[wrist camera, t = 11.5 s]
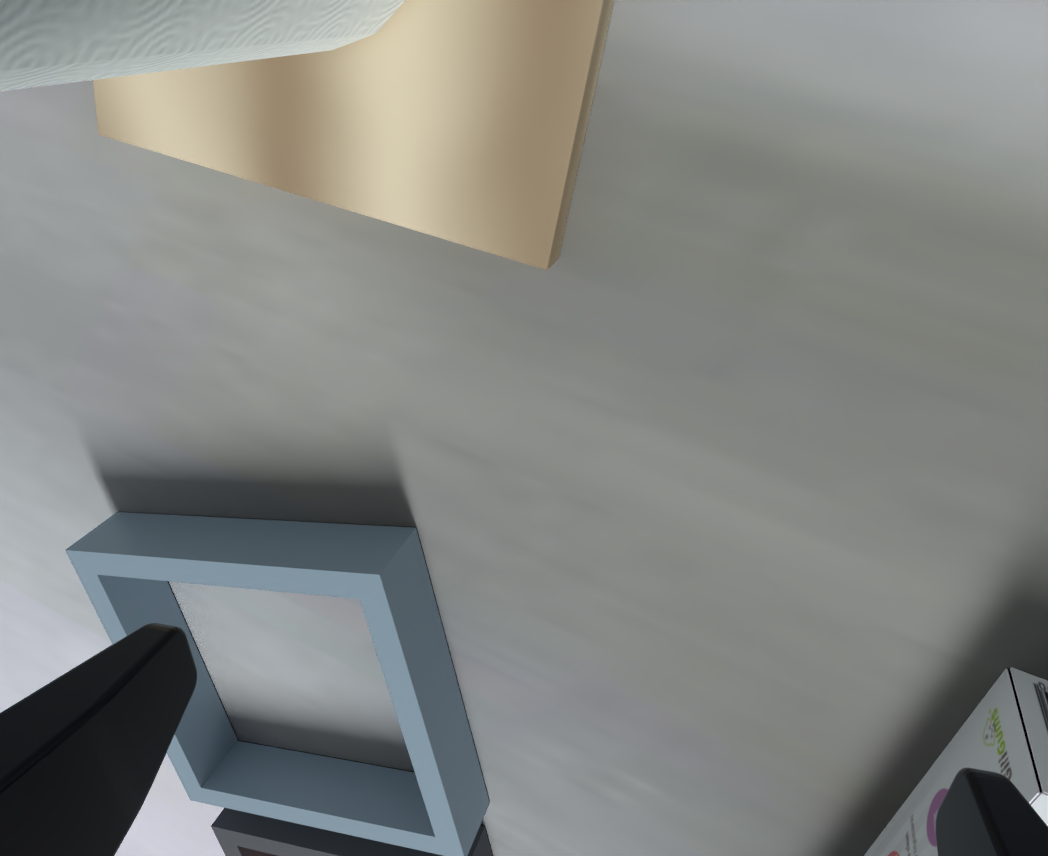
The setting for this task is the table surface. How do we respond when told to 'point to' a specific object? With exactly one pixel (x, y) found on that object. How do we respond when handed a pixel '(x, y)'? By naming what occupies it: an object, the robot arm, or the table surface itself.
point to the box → (979, 762)
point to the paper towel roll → (168, 34)
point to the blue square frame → (399, 638)
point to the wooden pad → (399, 119)
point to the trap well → (307, 839)
